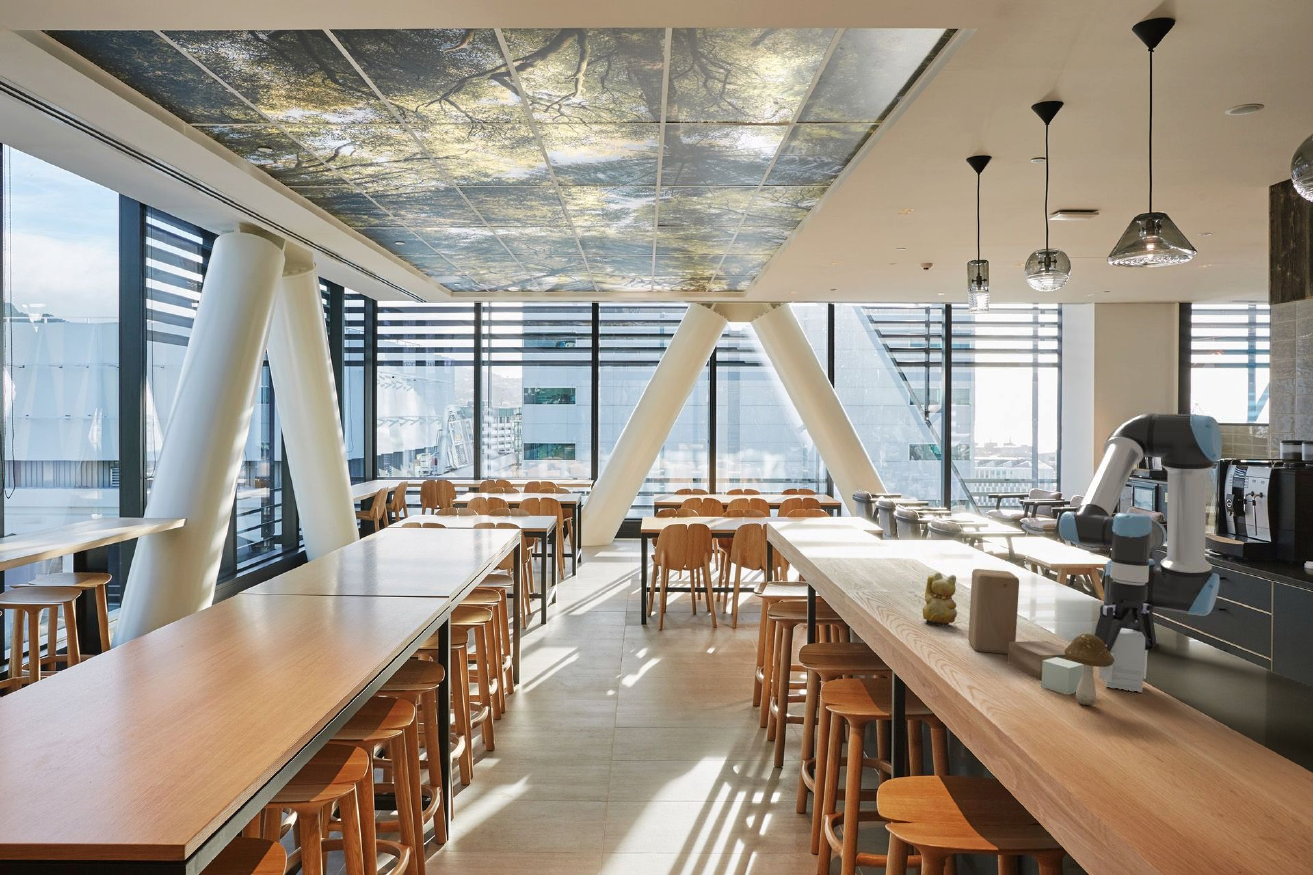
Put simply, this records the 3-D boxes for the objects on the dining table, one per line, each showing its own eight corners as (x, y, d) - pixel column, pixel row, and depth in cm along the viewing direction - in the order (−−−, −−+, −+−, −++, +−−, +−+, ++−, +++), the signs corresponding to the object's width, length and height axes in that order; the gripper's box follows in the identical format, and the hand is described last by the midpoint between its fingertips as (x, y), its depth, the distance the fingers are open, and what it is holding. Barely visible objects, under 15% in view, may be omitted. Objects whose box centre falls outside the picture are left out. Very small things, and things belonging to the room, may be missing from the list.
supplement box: (1138, 684, 186) (1142, 629, 186) (1142, 693, 180) (1146, 637, 179) (1102, 678, 189) (1105, 625, 189) (1104, 687, 183) (1108, 632, 182)
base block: (1046, 665, 200) (1047, 641, 200) (1079, 679, 189) (1080, 654, 189) (1007, 666, 197) (1009, 641, 197) (1038, 680, 186) (1040, 655, 186)
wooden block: (1015, 655, 206) (1020, 577, 205) (974, 651, 208) (978, 574, 207) (1006, 645, 215) (1011, 571, 215) (967, 641, 217) (971, 567, 217)
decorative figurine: (958, 624, 236) (961, 573, 236) (952, 630, 229) (955, 577, 229) (924, 619, 241) (927, 569, 241) (917, 624, 234) (920, 572, 234)
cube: (1055, 683, 185) (1056, 657, 185) (1081, 691, 180) (1083, 664, 180) (1041, 686, 181) (1042, 660, 181) (1067, 695, 176) (1069, 668, 176)
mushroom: (1066, 711, 166) (1071, 638, 165) (1056, 693, 177) (1061, 625, 176) (1117, 718, 163) (1121, 644, 163) (1103, 700, 174) (1108, 631, 174)
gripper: (1149, 576, 191) (1143, 669, 192) (1077, 579, 183) (1071, 676, 184) (1179, 583, 184) (1173, 679, 185) (1106, 586, 176) (1099, 687, 177)
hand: (1122, 678), depth 184 cm, fingers closed on supplement box, 10 cm apart
